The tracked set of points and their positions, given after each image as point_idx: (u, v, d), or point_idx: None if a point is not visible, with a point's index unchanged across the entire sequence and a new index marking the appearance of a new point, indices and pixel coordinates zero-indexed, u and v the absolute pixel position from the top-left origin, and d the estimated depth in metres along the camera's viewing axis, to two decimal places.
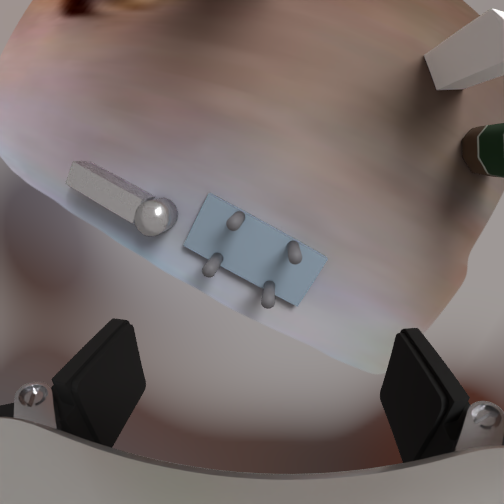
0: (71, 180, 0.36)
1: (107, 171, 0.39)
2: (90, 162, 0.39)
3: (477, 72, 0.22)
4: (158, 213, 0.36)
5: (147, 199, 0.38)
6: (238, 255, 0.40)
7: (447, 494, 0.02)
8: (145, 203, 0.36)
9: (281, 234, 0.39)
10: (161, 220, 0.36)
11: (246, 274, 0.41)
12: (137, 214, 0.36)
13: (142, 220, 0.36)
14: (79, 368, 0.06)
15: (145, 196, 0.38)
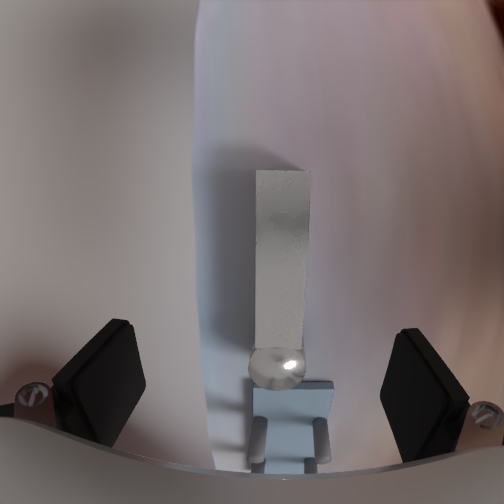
0: (269, 184, 0.19)
1: None
2: None
3: None
4: (291, 378, 0.22)
5: None
6: (275, 434, 0.29)
7: (447, 494, 0.02)
8: (297, 356, 0.22)
9: None
10: (282, 384, 0.23)
11: None
12: (273, 351, 0.22)
13: (269, 361, 0.22)
14: (79, 369, 0.06)
15: None
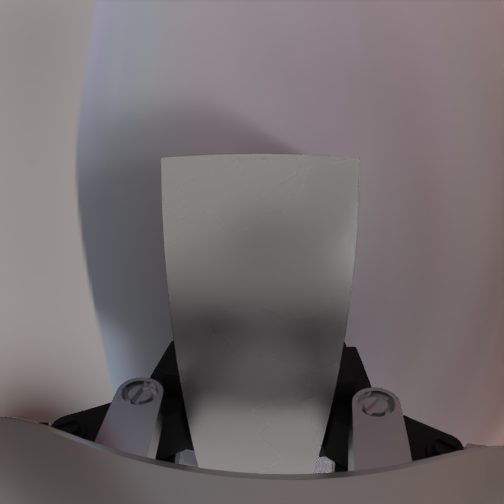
0: (209, 208, 0.05)
1: None
2: None
3: None
4: None
5: None
6: None
7: (447, 494, 0.02)
8: None
9: None
10: None
11: None
12: None
13: None
14: None
15: None
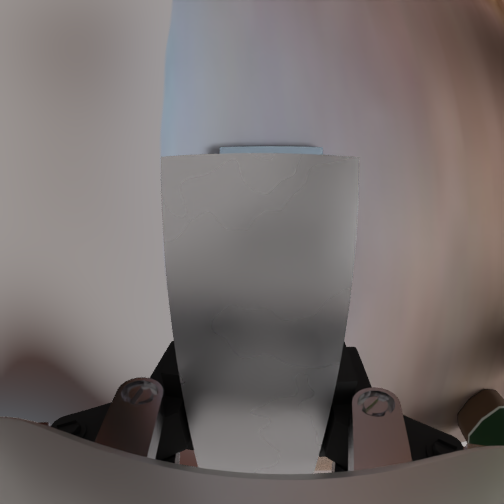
0: (209, 207, 0.05)
1: None
2: None
3: None
4: None
5: None
6: None
7: (447, 494, 0.02)
8: None
9: None
10: None
11: None
12: None
13: None
14: None
15: None
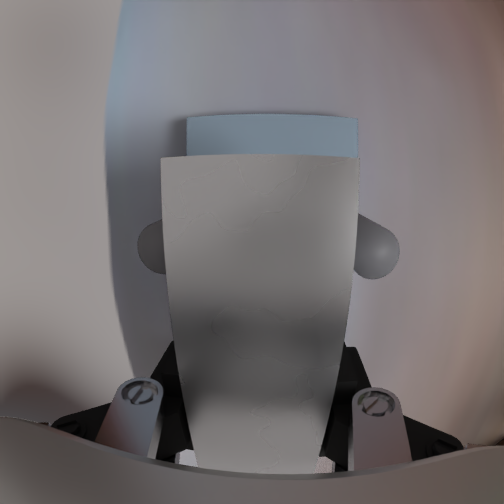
0: (209, 208, 0.05)
1: None
2: None
3: None
4: None
5: None
6: None
7: (447, 494, 0.02)
8: None
9: None
10: None
11: None
12: None
13: None
14: None
15: None
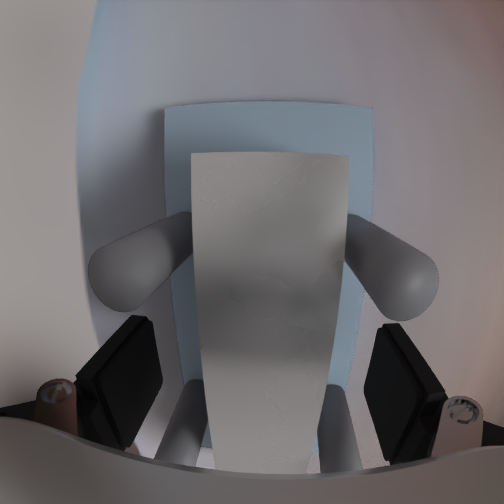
0: (230, 194, 0.06)
1: None
2: None
3: None
4: None
5: None
6: None
7: (447, 494, 0.02)
8: None
9: (348, 362, 0.12)
10: None
11: (190, 332, 0.13)
12: None
13: None
14: (103, 364, 0.07)
15: None
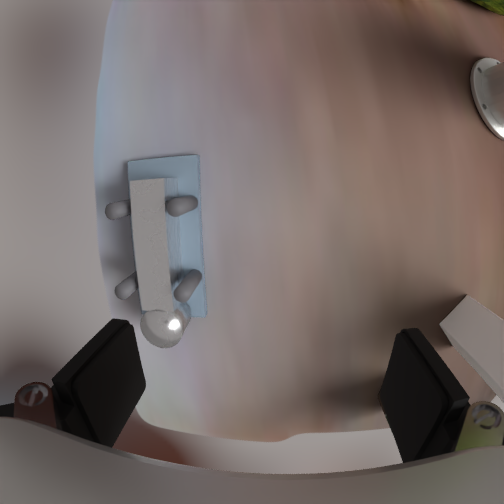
0: (138, 190, 0.26)
1: (178, 217, 0.30)
2: (176, 182, 0.29)
3: (481, 367, 0.23)
4: (172, 336, 0.29)
5: None
6: None
7: (447, 494, 0.02)
8: (172, 318, 0.29)
9: (199, 257, 0.32)
10: (167, 342, 0.29)
11: None
12: (155, 313, 0.29)
13: (153, 322, 0.29)
14: (79, 368, 0.06)
15: None
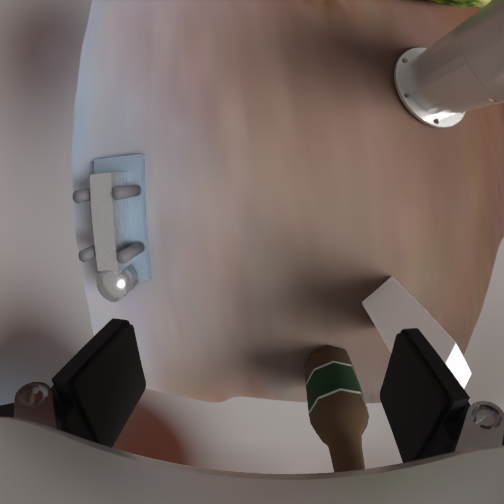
0: (95, 181, 0.33)
1: (127, 201, 0.38)
2: (126, 175, 0.37)
3: (385, 343, 0.30)
4: (118, 292, 0.37)
5: (124, 267, 0.38)
6: None
7: (447, 494, 0.02)
8: (117, 277, 0.36)
9: (142, 232, 0.39)
10: (115, 296, 0.37)
11: None
12: (106, 273, 0.36)
13: (105, 280, 0.37)
14: (79, 368, 0.06)
15: (125, 264, 0.38)
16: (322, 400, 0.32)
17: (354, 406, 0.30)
